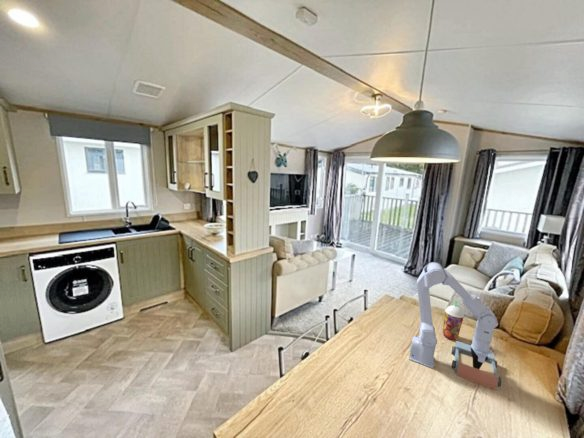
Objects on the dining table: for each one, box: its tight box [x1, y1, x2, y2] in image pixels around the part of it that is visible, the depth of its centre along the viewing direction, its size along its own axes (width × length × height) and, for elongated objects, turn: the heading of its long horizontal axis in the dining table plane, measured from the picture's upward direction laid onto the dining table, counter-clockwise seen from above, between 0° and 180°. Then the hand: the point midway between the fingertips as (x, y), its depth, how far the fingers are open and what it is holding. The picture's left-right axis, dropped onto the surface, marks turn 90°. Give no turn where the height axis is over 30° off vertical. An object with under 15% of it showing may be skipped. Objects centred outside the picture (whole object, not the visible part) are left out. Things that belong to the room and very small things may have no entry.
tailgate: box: [455, 362, 500, 391], centre depth 103 cm, size 13×1×6 cm, turn 58°
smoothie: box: [442, 300, 465, 341], centre depth 130 cm, size 8×8×20 cm
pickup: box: [451, 340, 502, 389], centre depth 111 cm, size 16×17×5 cm
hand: (475, 367), depth 107 cm, fingers closed
